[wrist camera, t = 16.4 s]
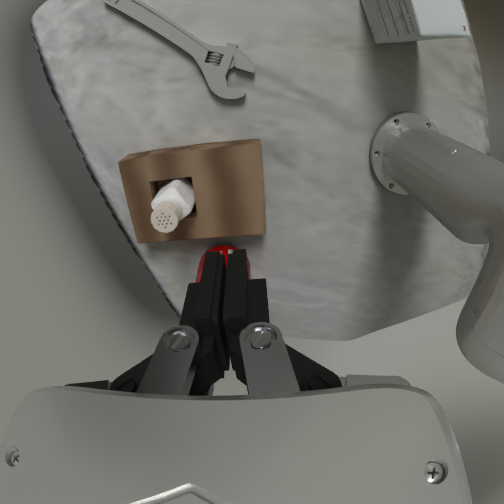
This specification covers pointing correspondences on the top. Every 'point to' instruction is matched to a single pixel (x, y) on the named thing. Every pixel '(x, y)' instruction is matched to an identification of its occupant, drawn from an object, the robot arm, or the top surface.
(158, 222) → the pepper shaker
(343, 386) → the robot arm
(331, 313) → the top surface
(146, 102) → the top surface
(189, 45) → the adjustable wrench
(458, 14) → the supplement box
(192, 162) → the socket block
